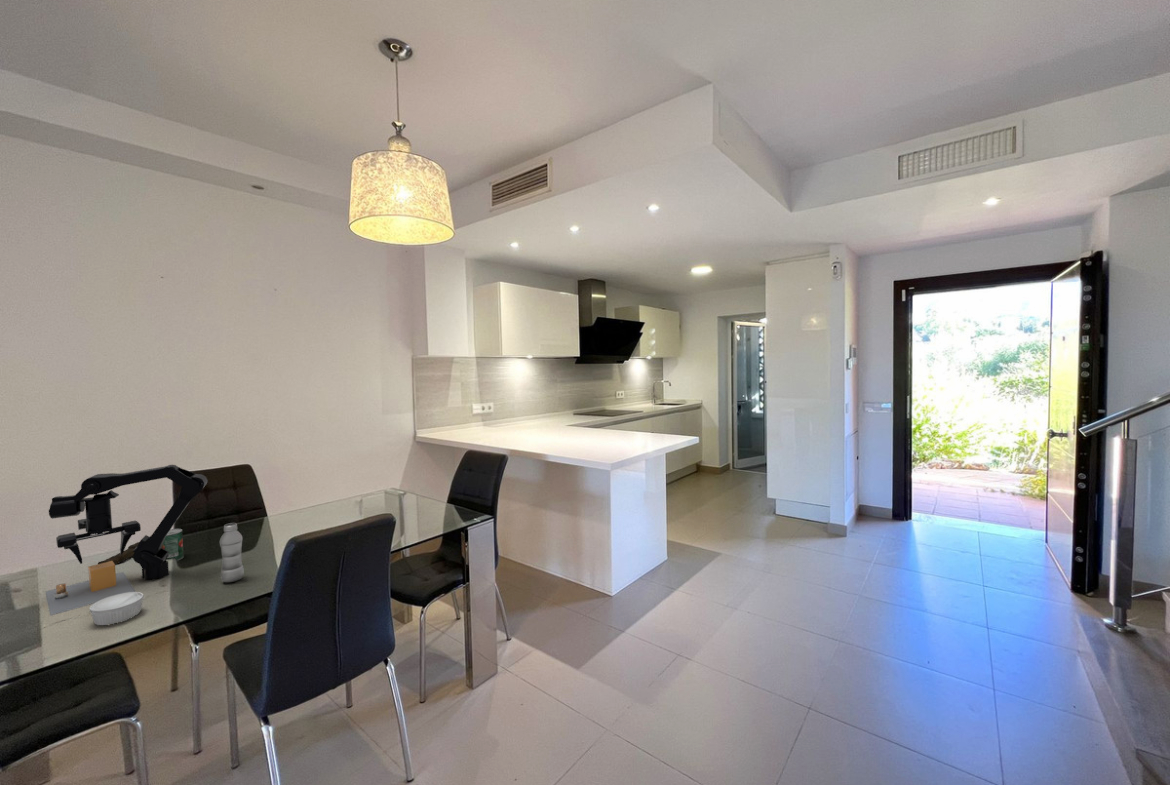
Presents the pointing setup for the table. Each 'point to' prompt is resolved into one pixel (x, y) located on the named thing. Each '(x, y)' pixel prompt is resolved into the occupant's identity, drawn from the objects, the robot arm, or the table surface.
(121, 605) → the ramekin
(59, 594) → the copper silver stepped knob
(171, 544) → the canned tomato
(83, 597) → the flat grey board
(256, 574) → the table surface
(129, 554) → the hand tool
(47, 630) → the table surface
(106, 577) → the orange cardboard-tone cube
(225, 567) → the plastic bottle
